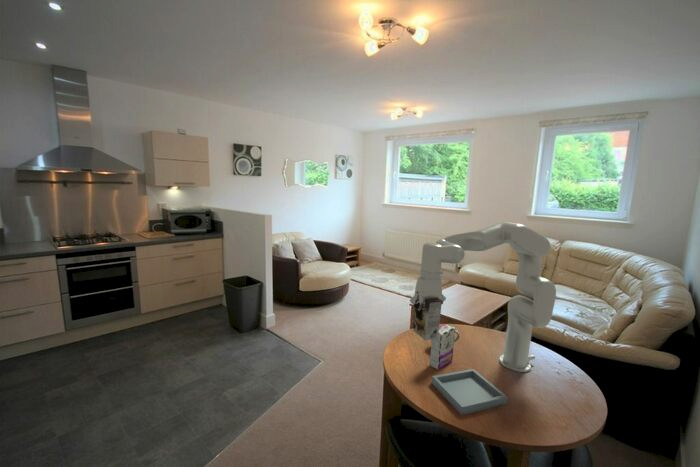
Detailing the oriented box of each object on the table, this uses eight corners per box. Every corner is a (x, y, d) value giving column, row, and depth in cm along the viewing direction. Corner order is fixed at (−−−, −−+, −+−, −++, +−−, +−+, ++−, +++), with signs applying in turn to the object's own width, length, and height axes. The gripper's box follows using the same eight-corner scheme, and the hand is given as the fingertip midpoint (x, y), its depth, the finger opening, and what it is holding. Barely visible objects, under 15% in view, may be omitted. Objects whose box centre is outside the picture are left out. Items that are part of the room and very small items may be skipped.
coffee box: (411, 330, 128) (414, 293, 126) (424, 328, 131) (428, 291, 128) (425, 341, 120) (428, 301, 117) (438, 338, 122) (442, 299, 120)
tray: (472, 375, 130) (473, 368, 130) (506, 404, 113) (507, 396, 113) (431, 383, 124) (432, 376, 123) (461, 415, 107) (462, 407, 106)
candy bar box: (442, 357, 143) (446, 323, 141) (452, 362, 140) (456, 327, 137) (428, 365, 136) (431, 330, 133) (438, 370, 132) (442, 334, 130)
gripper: (443, 271, 128) (439, 312, 131) (405, 273, 122) (402, 316, 125) (455, 276, 121) (450, 319, 124) (415, 278, 115) (412, 324, 118)
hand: (426, 317), depth 124 cm, fingers closed on coffee box, 6 cm apart
